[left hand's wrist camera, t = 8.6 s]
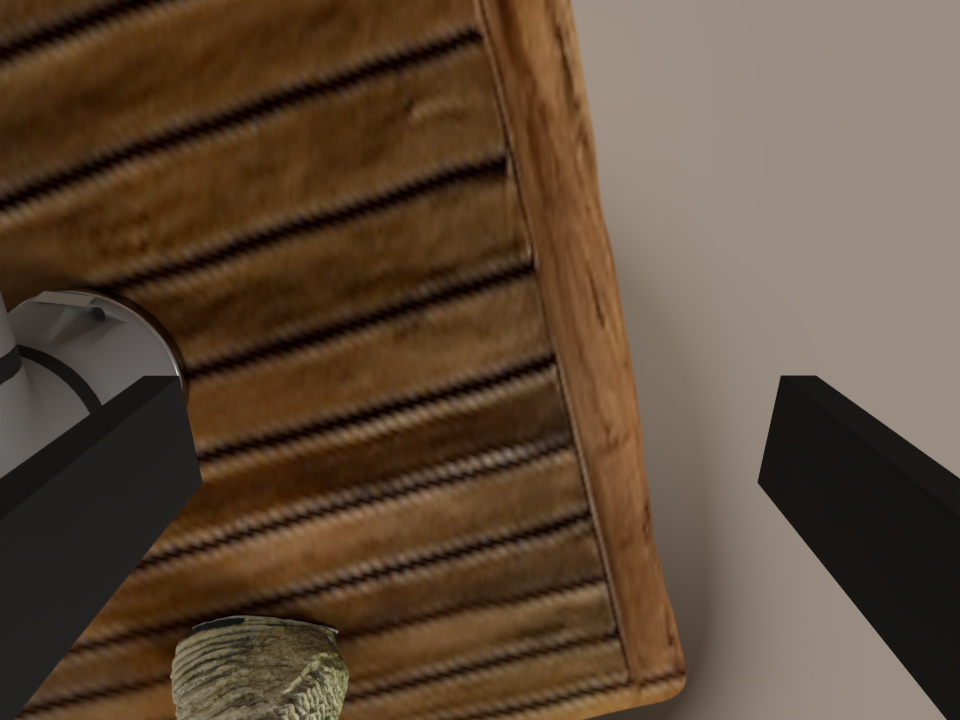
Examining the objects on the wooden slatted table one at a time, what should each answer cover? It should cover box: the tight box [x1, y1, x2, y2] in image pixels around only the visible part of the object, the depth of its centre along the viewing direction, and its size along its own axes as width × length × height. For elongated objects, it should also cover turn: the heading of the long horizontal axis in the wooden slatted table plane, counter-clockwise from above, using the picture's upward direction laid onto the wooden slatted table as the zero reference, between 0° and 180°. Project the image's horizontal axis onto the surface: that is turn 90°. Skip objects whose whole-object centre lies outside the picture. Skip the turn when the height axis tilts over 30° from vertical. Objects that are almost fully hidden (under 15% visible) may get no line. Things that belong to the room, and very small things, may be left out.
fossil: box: [170, 616, 349, 720], centre depth 54 cm, size 9×18×15 cm, turn 101°
